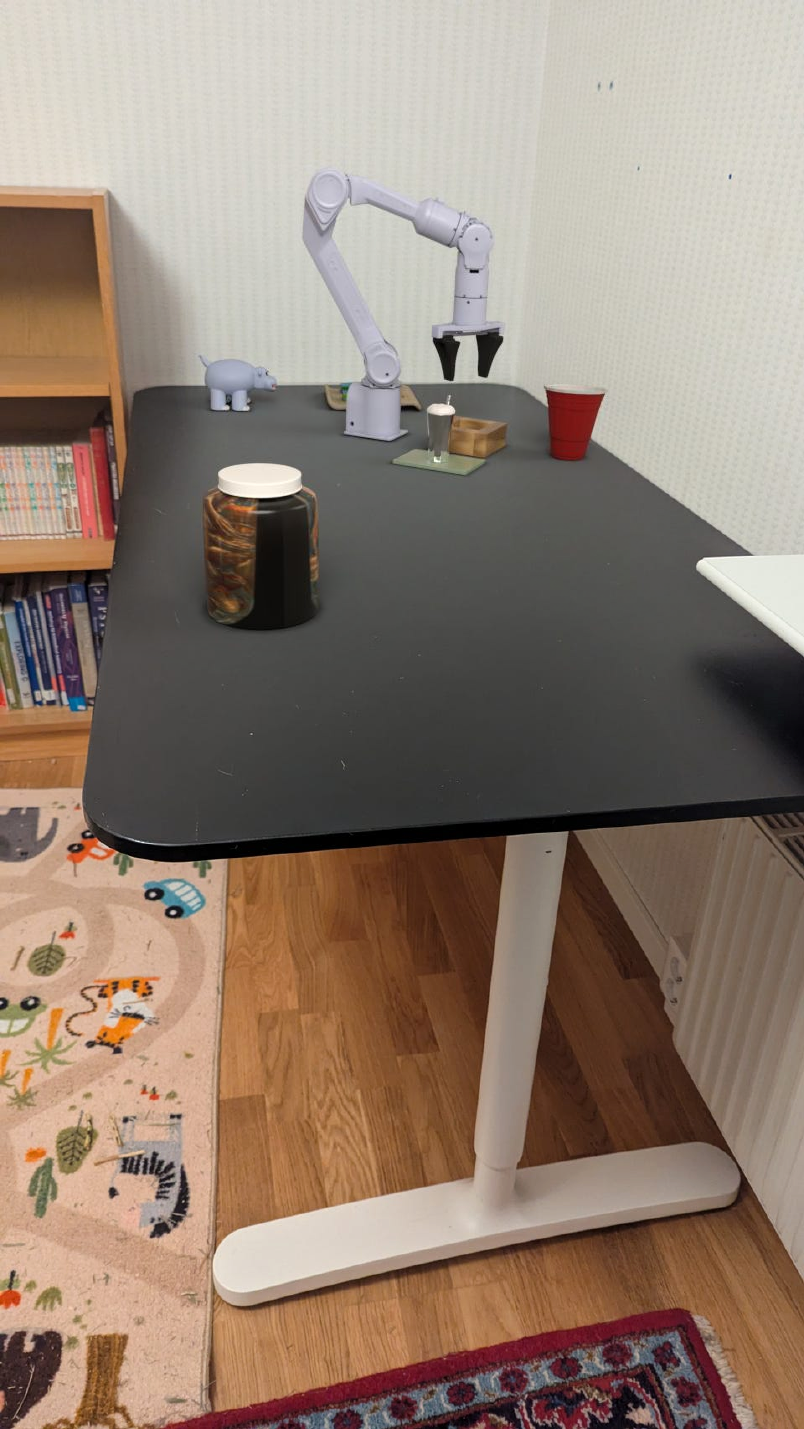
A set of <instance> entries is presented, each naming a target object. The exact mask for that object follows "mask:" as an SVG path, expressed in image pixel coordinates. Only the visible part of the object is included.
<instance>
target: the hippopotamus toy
mask: <svg viewBox="0 0 804 1429" xmlns="http://www.w3.org/2000/svg"><path fill="white" fill-rule="evenodd" d="M198 358H200V361H201V363H202V365H203V366H204V367H205V368H206V369H205V372H204V384H205V386H206V389H208V390H209V391H210V409H211V410H213V411H225V412H227V411H229V410H230V409H232V410H233V411H235V412H249V411H250V409H251V408H250V406H249V405H248V404H249V403H251V401H252V400H251V398H249V394H250V392H252V391H253V390H254V389H256V390H264V391H266V392H269V393H274V392H276V391H277V387H276V385H278V381H277V379H276V375H269V370H268V369H267V368H266V367H265V366H264V367H263V366H261V365H258V367H254V365H253V364H252V363H249V362H246V361H245V360H241V359H235V358H224V359H219V360H215V361H212V362H211V361H208V360H207V359H206V358H205V357H204V356H203V355H201V354H199V355H198ZM248 393H249V394H248ZM228 403H231V408H230V406H229V405H228Z"/></svg>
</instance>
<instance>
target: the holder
mask: <svg viewBox="0 0 804 1429" xmlns="http://www.w3.org/2000/svg"><path fill="white" fill-rule="evenodd" d="M507 430H508V423H507V422H503V421H502V422H501V421H495V420H487V419H480V418H474V417H465V416H460V415H454V421H453V428H452V435H451V442H450V450H449V454H451V453H452V454H455V455H462V456H468V457H470V456H471V457H474V458H481V459H482V458H483V459H485V458H487V457H489V456H491V455H493V453H495V452H497V451H498V450H500V449H502V448H504V447H506V440H507Z"/></svg>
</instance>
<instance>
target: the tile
mask: <svg viewBox="0 0 804 1429" xmlns="http://www.w3.org/2000/svg"><path fill="white" fill-rule="evenodd" d="M392 464H394V465H398V466H405V467H412V468H418V469H424V470H431V471H437V472H443V473H448V474H456V475H462V476H467V475H468V474H470V473H472V472H473V471H475V470H477V469H478V468H480V467H482V466H484V465H485V464H486V459H484V458H483V459H482V458H478V457H470V456H465V455H458V454H451V453H449V457H448V461H446V462H441V463H439V462H432V461H429V459H428V450H425V449H420V448H419V449H417V448H413V449H412V450H410V451H407V452H405V453H404V454H402V455H400V456H397V457H396V458H394V459H392Z"/></svg>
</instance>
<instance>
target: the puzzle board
mask: <svg viewBox="0 0 804 1429" xmlns="http://www.w3.org/2000/svg"><path fill="white" fill-rule="evenodd" d="M353 382H354V381H352V382H340V385H339V386H340V388H332V387H330V386H329V385H328V384H327V383H325V384H324V386H323V387H324V388H323V389H324V392H325V398H326V402H327V404H328V406H329V407H331V408H332V409H333V410H335V411H346V398H347V392H348V389H349V387H350V385H351V384H352V383H353ZM401 386H402V389H401V407H407V406H408V407H409V406H412V407H415V408H416V409H417V411H421V410H422V405H421V404H420V402H419V401H418V398H417V397H416V395H415V394H414V392H413V391H412V389H411V388H410V387H409V386H408V385H405V384H402V385H401Z"/></svg>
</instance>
